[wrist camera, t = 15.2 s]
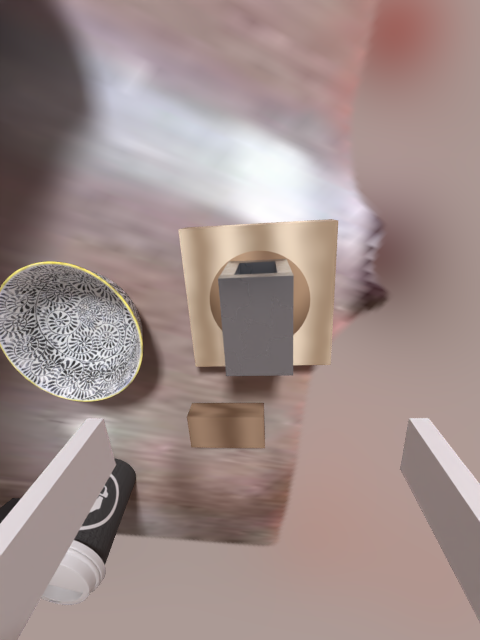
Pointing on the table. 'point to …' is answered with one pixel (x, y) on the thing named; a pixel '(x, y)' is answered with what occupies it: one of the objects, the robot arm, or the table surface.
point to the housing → (257, 317)
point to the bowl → (70, 331)
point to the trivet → (263, 244)
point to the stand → (227, 425)
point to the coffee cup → (92, 541)
